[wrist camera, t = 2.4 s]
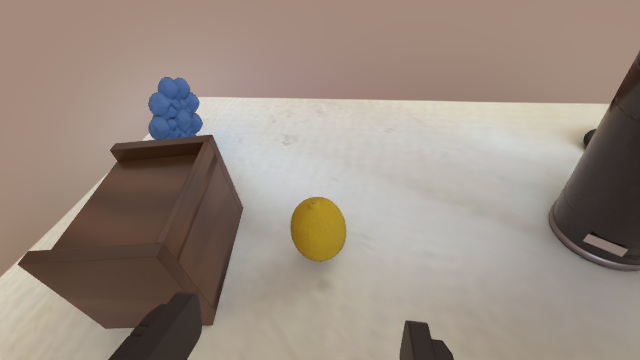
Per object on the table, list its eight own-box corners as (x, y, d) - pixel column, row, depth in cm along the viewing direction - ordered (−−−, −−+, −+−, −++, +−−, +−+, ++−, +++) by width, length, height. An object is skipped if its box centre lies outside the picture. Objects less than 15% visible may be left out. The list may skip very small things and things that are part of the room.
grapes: (186, 130, 57) (155, 65, 49) (220, 130, 56) (194, 63, 48) (149, 173, 49) (105, 104, 41) (188, 175, 48) (149, 104, 40)
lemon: (288, 253, 35) (271, 205, 30) (324, 224, 38) (315, 174, 32) (321, 285, 32) (310, 237, 27) (359, 251, 35) (355, 200, 29)
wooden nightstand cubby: (162, 213, 43) (115, 143, 35) (243, 207, 42) (212, 134, 34) (105, 328, 32) (16, 264, 24) (212, 325, 31) (156, 256, 23)
